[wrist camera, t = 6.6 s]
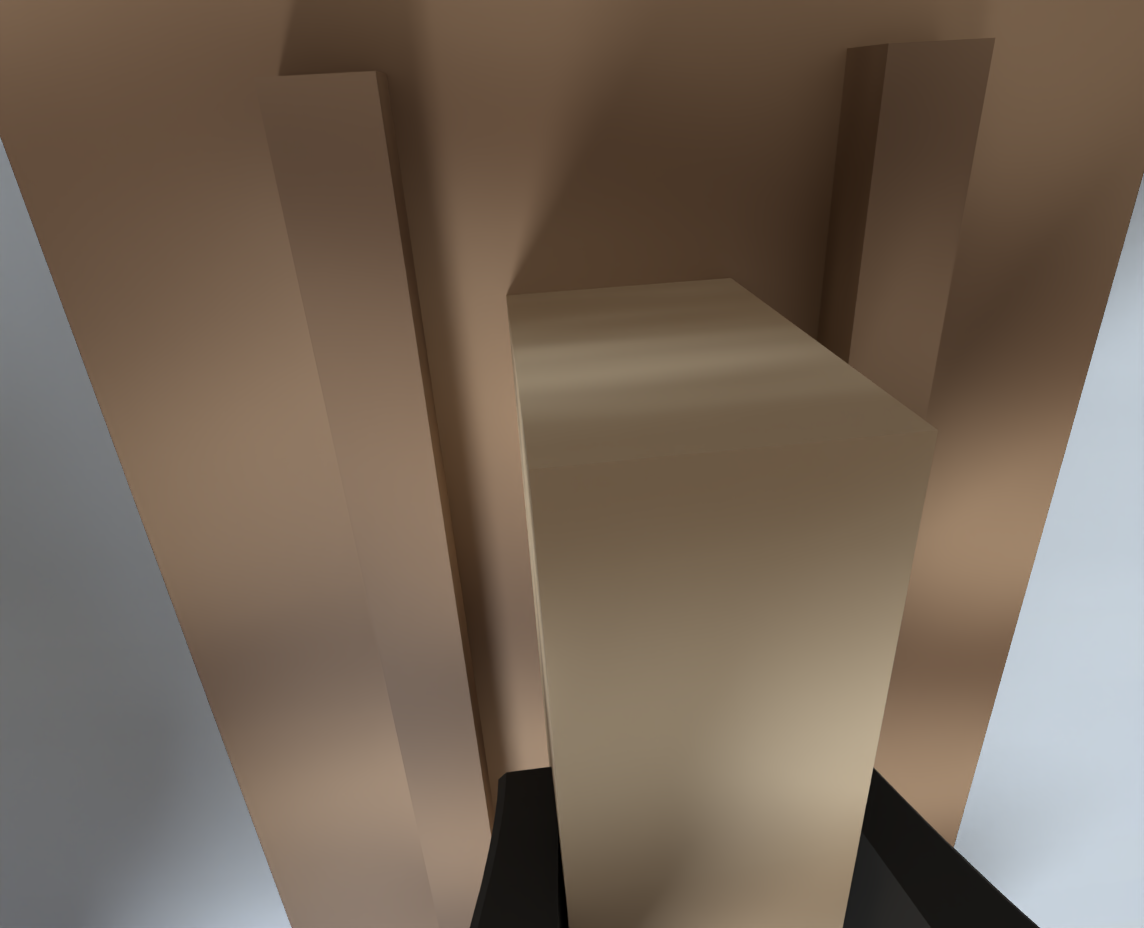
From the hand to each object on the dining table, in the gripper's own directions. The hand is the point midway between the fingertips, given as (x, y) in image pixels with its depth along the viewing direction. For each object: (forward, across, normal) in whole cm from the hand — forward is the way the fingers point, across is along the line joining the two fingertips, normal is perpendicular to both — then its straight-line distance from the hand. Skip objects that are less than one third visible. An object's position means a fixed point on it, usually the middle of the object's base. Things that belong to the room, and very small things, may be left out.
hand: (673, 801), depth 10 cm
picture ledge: (+4, 0, 0) cm, 4 cm away
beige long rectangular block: (+3, 0, 0) cm, 3 cm away
